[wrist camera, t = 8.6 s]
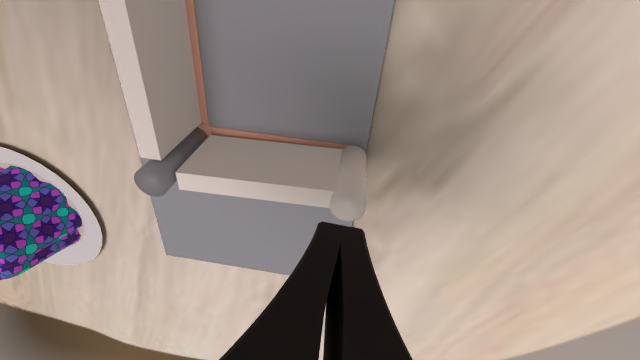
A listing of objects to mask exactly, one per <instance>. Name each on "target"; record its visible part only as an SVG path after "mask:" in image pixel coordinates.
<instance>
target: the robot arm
mask: <svg viewBox="0 0 640 360" xmlns="http://www.w3.org/2000/svg"><path fill="white" fill-rule="evenodd" d="M325 306H326V319H325V337H324V356H323V360H412V358H411V356H410V354H409V352H408V350H407V348H406V346H405V344H404V342H403V340H402V338H401V336H400V333H399V331H398V329H397V327H396V325H395V322H394V320H393V318H392V315H391V313H390V311H389V309H388V306H387V304H386V301H385V299H384V296H383V293H382V291H381V288H380V285H379V283H378V280H377V277H376V274H375V271H374V268H373V265H372V262H371V258H370V255H369V251H368V247H367V243H366V239H365V233H364V231H363V230H362V229H359V228H354V227H348V226H343V225H338V224H333V223H328V222H323V221H322V222H320V223H318V225H317V228H316V231H315V233H314V236H313V238H312V240H311V242H310V244H309V246H308V247H307V249H306V251H305V253H304V255H303V256H302V258H301V259H300V261H299V263H298V264H297V266H296V267H295V269H294V270H293V272H292V273H291V275H290V276H289V278H288V279H287V281H286V282H285V283H284V285H283V286H282V287H281V289H280V290H279V292H278V293H277V294H276V296H275V297H274V298H273V300H272V301H271V302H270V303H269V305H268V306H267V307H266V308H265V310H264V311H263V312H262V313H261V314H260V316H259V317H258V318H257V319H256V320H255V321H254V323H253V324H252V325H251V326H250V327H249V328H248V330H247V331H246V332H245V333H244V334H243V335H242V336H241V337H240V338H239V339H238V340H237V341H236V343H235V344H234V345H233V346H232V347H231V348H230V349H229V350H228V351H227V352H226V353H225V354H224V355H223V356H222V357H221V358H220V359H219V360H318V358H319V350H320V342H321V333H322V325H323V317H324V311H325Z"/></svg>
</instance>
